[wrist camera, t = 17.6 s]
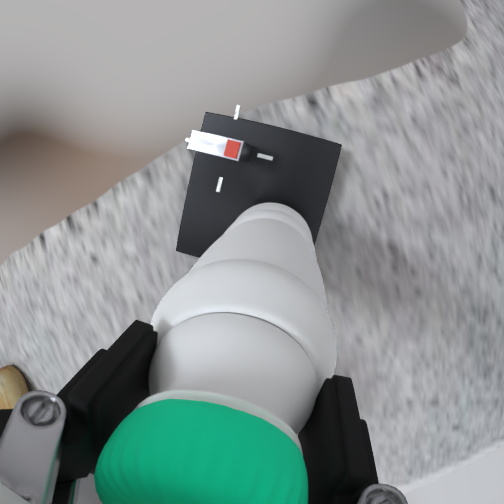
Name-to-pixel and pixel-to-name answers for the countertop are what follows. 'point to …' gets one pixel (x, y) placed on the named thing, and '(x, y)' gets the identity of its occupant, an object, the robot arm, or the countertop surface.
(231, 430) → the water bottle
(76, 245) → the countertop surface
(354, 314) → the countertop surface
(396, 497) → the robot arm
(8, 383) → the bread roll
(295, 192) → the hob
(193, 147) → the knob
